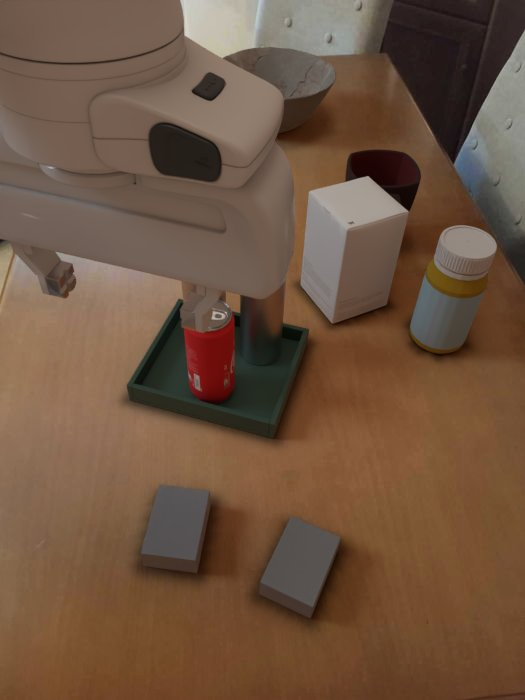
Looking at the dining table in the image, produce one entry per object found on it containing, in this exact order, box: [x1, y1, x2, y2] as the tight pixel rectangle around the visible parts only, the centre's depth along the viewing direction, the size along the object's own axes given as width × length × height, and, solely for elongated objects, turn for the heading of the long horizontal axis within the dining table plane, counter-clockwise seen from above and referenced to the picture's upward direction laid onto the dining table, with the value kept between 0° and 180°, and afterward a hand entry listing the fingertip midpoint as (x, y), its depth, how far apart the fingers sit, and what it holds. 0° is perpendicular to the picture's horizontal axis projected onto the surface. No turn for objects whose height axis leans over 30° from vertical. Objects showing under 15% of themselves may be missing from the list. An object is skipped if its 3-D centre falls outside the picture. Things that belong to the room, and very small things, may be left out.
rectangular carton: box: [300, 176, 410, 325], centre depth 76 cm, size 9×9×15 cm
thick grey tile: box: [140, 484, 212, 574], centre depth 56 cm, size 5×7×3 cm
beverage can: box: [184, 300, 235, 404], centre depth 65 cm, size 5×5×12 cm
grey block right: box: [258, 515, 342, 619], centre depth 54 cm, size 5×7×3 cm
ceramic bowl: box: [222, 46, 337, 134], centre depth 111 cm, size 22×23×10 cm
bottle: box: [409, 224, 498, 355], centre depth 71 cm, size 7×7×15 cm
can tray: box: [126, 298, 310, 439], centre depth 71 cm, size 17×15×3 cm
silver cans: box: [180, 276, 287, 365], centre depth 70 cm, size 12×5×12 cm, turn 73°
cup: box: [344, 148, 422, 213], centre depth 85 cm, size 10×14×12 cm
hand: (127, 307), depth 38 cm, fingers open, 8 cm apart
